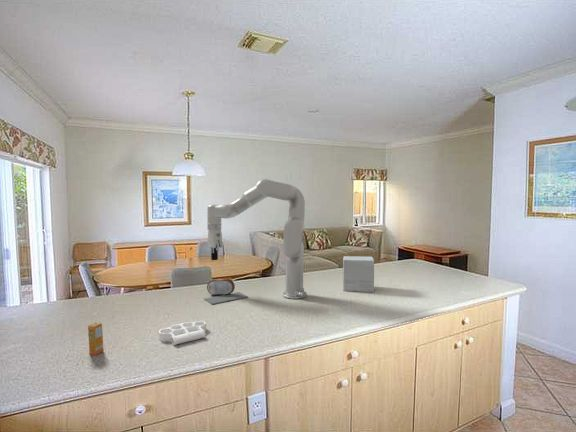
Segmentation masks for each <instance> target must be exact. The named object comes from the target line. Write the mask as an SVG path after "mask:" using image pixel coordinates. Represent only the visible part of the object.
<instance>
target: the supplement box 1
mask: <svg viewBox="0 0 576 432" xmlns="http://www.w3.org/2000/svg"><path fill="white" fill-rule="evenodd" d="M87 332H88V335H87V336H88V346H89V347H88V349H89V350H88V351H89V353H88V354H90V355H94V356H97V355H99V354H101V353H103V352H104V336H103V335H104V334H103V323H102V322H100V323H99V322H93V323H91V324H88V325H87Z"/></svg>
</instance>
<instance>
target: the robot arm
mask: <svg viewBox="0 0 576 432" xmlns="http://www.w3.org/2000/svg"><path fill="white" fill-rule="evenodd" d="M267 198H272V199H277V200H282V201H288V204H289V205H288V217H287V218H288V219H287V221H286V222H285V224H284V228H283V239H282V251H283V253H284V255H285V291H284V292H283V293H282V296H283V298H287V299H292V300H298V299H303V298H305V297H307V292H306V291H305V288H304V255H305V253H304V252H305V246H304V242H303V233H304V230H305V209H306V208H305V207H306V203H305V202H306V201H305V197H304V194H303V193H302V191H301V190H300V189H299V188H298V187H296V186H294V185H292V184H289V183H284V182H279V181H274V180H271V179H267V178H263V179H261V180H259V181H258V182H257V183H256V185H255V186H253V187H251V188H250V189H248V190H246V191H245V192H243V195H242V196H241V197H239V198H238V199H237V200H235V201H233V202H232V203H230V204H229V203H228V204H223V205H220V204H209V205H208V206H207V209H206V210H207V212H206V213H207V215H206V217H207V246H208V247H209V249H210V257H211V258H210V259H211V260H210V261H217V260H218V259H219V254H218V253H219V251H220V248H222V247H223V234H222V219H232V218H235V217H236V216H238V215H240V214H242V213H243V212H245V211H247V210H249V209H250V208H252V207H253V206H255V205H257V204H258V203H260V202H261V201H263V200H265V199H267Z"/></svg>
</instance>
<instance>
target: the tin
mask: <svg viewBox="0 0 576 432" xmlns="http://www.w3.org/2000/svg"><path fill="white" fill-rule="evenodd" d="M235 286H236V285H235V282H234V281H233V280H232V279H230V278H213V279H211V280H210V281H208V283H207V285H206V289H207V292H208V293H209V294H210V295H212V296H221V295H228V294H231V293H234V291H235V289H236V287H235Z"/></svg>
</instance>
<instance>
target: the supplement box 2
mask: <svg viewBox="0 0 576 432" xmlns="http://www.w3.org/2000/svg"><path fill="white" fill-rule="evenodd" d="M342 262H343V263H342V267H343V268H342V274H343V275H342V290H343V292H361V293H362V292H365V293H366V292H367V293H374V292H375V260H374V257H373V256H363V255H362V256H356V255H354V256H353V255H352V256H351V255H348V256H347V255H344V256H343V258H342Z"/></svg>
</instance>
